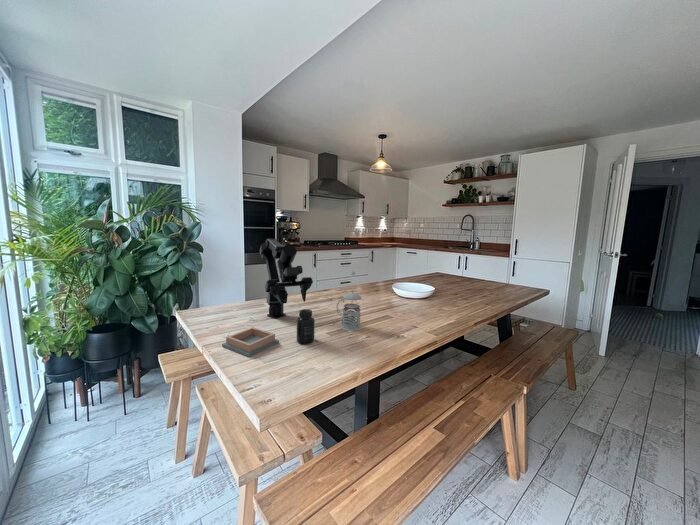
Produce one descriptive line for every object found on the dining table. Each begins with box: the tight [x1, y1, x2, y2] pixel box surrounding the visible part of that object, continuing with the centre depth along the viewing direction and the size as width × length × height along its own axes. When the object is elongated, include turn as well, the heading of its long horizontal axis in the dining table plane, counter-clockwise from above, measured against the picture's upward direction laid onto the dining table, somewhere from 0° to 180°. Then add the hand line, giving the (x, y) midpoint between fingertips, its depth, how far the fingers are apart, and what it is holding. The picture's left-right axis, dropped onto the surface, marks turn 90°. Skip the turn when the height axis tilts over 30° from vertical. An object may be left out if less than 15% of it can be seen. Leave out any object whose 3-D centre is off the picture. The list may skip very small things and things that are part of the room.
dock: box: [221, 326, 280, 358], centre depth 104 cm, size 14×14×4 cm
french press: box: [336, 271, 363, 332], centre depth 124 cm, size 10×12×25 cm
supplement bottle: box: [296, 308, 316, 345], centre depth 109 cm, size 7×7×12 cm
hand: (293, 302), depth 113 cm, fingers open, 9 cm apart
